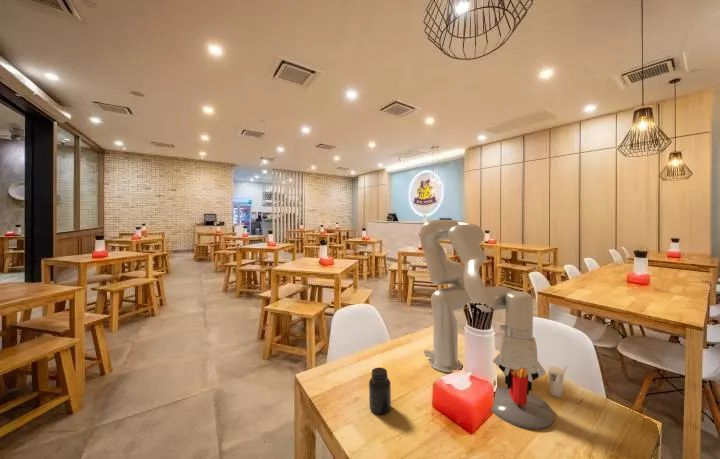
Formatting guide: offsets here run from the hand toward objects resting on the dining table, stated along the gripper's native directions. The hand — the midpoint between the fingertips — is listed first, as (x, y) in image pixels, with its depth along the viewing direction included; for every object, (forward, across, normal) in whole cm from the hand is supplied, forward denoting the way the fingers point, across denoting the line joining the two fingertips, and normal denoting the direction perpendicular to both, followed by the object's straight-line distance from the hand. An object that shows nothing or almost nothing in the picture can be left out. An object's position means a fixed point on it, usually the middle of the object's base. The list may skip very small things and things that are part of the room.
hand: (518, 388), depth 88 cm
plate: (+6, 0, 0) cm, 6 cm away
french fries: (+4, 0, 0) cm, 4 cm away
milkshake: (+6, +11, +15) cm, 20 cm away
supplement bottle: (+7, -37, -23) cm, 44 cm away
